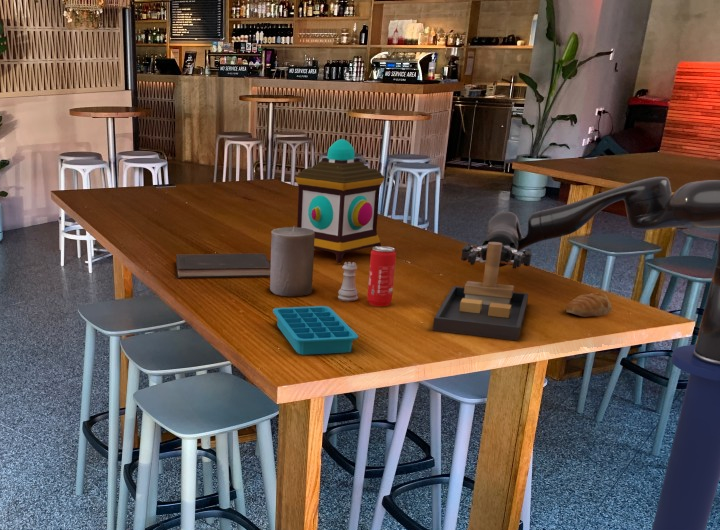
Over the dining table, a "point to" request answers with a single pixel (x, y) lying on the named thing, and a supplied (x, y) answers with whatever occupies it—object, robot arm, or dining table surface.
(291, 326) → the ice cube tray
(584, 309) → the pastry
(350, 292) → the rook chess piece
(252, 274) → the hardcover book
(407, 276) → the dining table surface
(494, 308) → the block
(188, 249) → the dining table surface
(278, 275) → the pillar candle
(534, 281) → the dining table surface
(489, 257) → the brush
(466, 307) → the light wooden block
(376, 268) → the beverage can
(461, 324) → the tray
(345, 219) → the decorative lantern
